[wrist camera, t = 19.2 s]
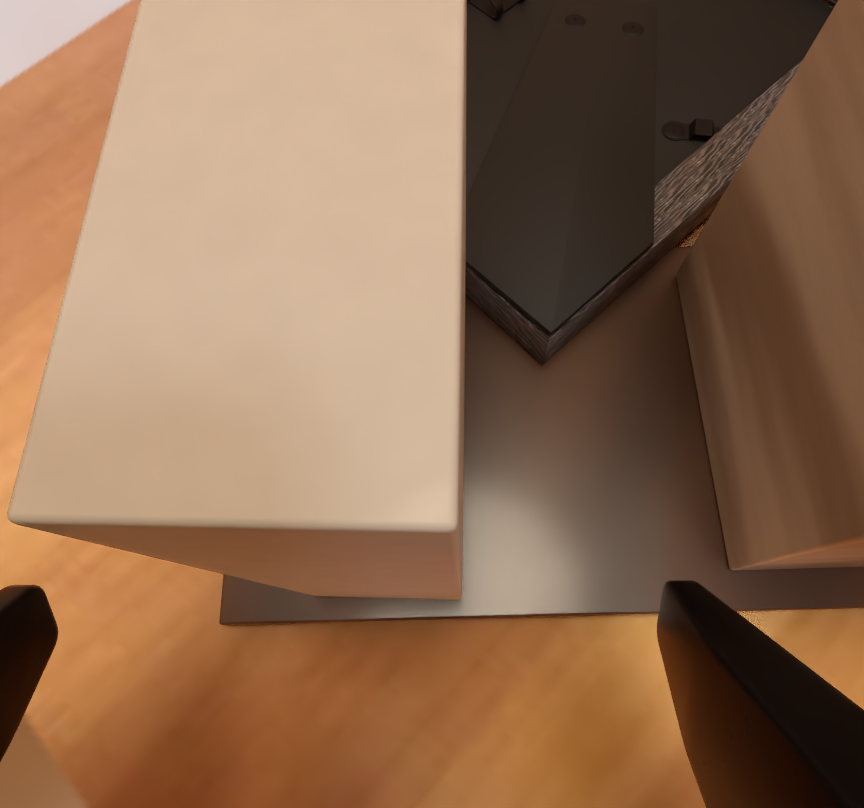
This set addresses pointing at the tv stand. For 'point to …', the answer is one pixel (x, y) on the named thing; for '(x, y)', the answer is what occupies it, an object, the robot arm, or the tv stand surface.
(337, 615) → the brown boxy structure
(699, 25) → the picture frame
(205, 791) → the tv stand surface
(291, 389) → the beige rectangular block
